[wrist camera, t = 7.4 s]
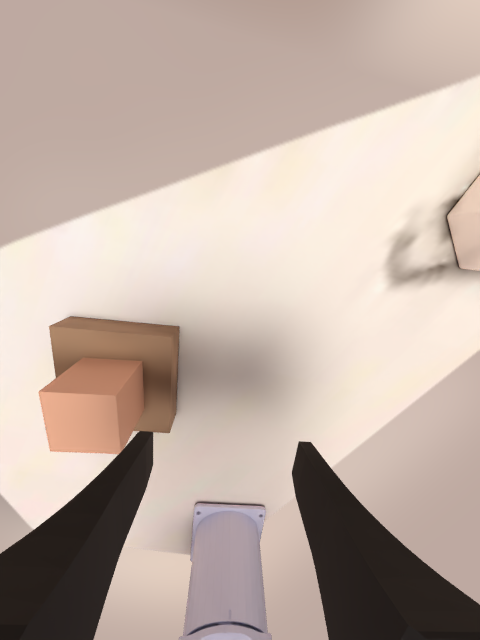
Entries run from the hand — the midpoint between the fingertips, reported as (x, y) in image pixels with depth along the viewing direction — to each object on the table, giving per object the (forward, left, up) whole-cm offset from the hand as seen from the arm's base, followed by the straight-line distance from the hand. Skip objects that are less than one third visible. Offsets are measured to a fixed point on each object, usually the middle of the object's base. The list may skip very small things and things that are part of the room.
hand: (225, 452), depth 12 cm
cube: (-2, +9, -8) cm, 12 cm away
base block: (-2, +9, -10) cm, 14 cm away
